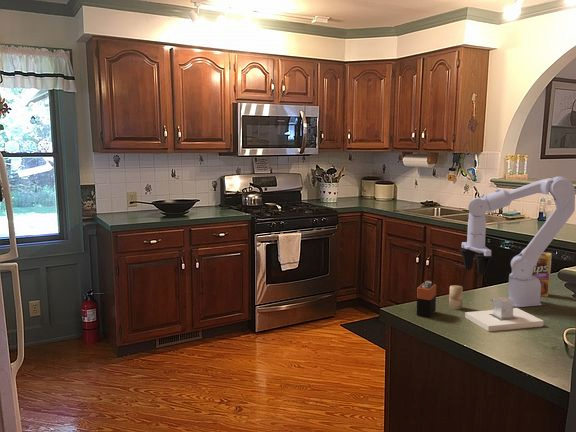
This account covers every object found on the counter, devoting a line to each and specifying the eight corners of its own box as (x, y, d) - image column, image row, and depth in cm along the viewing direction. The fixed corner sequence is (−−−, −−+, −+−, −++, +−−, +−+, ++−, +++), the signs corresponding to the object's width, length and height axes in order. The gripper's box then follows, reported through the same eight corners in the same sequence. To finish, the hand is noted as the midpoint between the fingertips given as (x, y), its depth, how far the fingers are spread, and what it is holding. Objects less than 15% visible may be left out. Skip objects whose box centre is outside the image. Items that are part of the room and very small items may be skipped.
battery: (435, 311, 158) (436, 281, 156) (429, 318, 152) (430, 286, 151) (422, 309, 160) (423, 279, 159) (415, 315, 154) (416, 284, 153)
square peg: (504, 319, 151) (505, 296, 150) (512, 323, 147) (513, 300, 146) (492, 320, 150) (493, 297, 149) (500, 324, 146) (501, 301, 145)
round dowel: (457, 305, 164) (458, 284, 163) (464, 309, 160) (465, 288, 159) (446, 306, 163) (447, 285, 162) (453, 310, 159) (453, 289, 158)
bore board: (516, 312, 156) (516, 307, 156) (543, 326, 144) (543, 320, 144) (465, 317, 152) (465, 312, 152) (488, 331, 141) (488, 326, 140)
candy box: (519, 293, 176) (522, 251, 174) (521, 290, 179) (524, 249, 177) (547, 297, 171) (550, 254, 169) (549, 294, 175) (552, 252, 172)
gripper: (454, 230, 173) (452, 267, 175) (478, 237, 159) (476, 278, 161) (472, 229, 175) (470, 266, 177) (497, 236, 161) (495, 277, 163)
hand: (474, 272), depth 169 cm, fingers open, 7 cm apart
